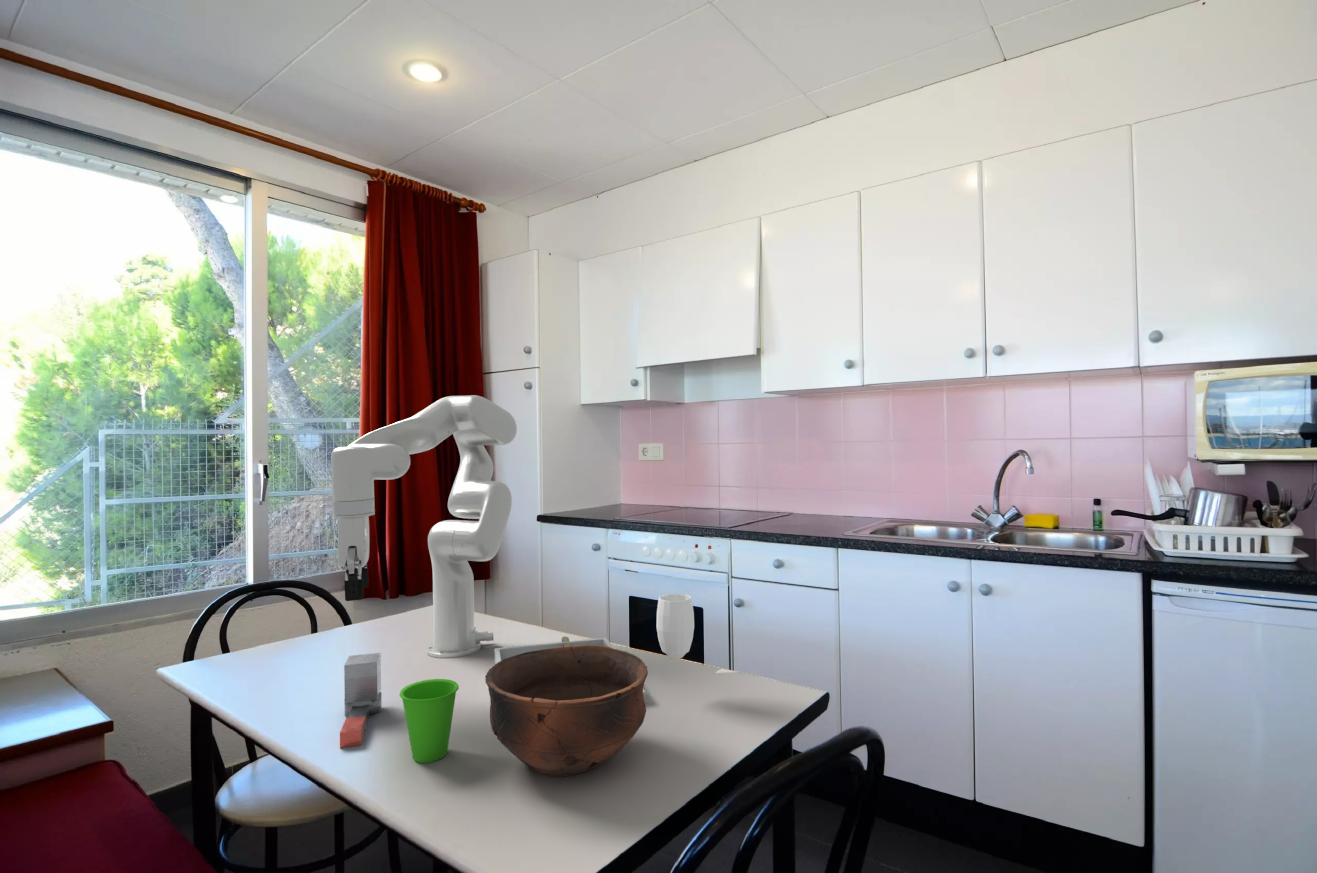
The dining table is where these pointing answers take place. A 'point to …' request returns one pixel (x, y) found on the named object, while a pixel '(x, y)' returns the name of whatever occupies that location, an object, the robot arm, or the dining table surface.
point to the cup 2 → (675, 624)
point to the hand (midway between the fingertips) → (357, 593)
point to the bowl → (566, 706)
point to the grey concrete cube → (362, 677)
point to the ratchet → (357, 721)
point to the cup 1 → (429, 717)
